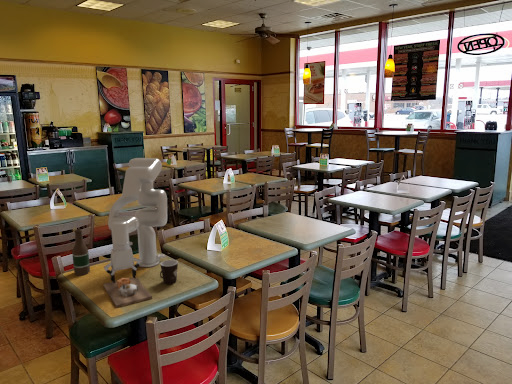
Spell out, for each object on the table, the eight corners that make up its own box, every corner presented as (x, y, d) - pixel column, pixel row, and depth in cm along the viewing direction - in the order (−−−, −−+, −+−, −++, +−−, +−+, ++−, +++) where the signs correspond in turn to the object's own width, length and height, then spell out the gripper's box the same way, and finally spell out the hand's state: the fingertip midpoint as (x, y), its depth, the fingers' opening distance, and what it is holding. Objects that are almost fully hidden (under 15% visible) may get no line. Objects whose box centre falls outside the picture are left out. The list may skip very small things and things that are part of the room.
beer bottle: (74, 276, 206) (70, 232, 201) (74, 271, 212) (69, 228, 208) (90, 274, 209) (86, 230, 204) (89, 268, 216) (85, 226, 211)
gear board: (136, 278, 202) (135, 268, 201) (152, 298, 181) (151, 286, 180) (103, 286, 194) (102, 275, 193) (116, 307, 172) (115, 295, 171)
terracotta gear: (128, 282, 196) (128, 276, 195) (132, 286, 190) (131, 281, 190) (116, 285, 192) (115, 279, 192) (119, 289, 187) (119, 284, 187)
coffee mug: (172, 276, 205) (171, 258, 203) (182, 281, 199) (181, 262, 197) (152, 283, 197) (151, 264, 195) (161, 288, 191) (160, 269, 189)
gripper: (137, 240, 195) (139, 272, 199) (100, 247, 186) (103, 281, 190) (141, 245, 189) (144, 278, 192) (104, 252, 180) (107, 286, 183)
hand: (124, 279), depth 191 cm, fingers open, 9 cm apart
